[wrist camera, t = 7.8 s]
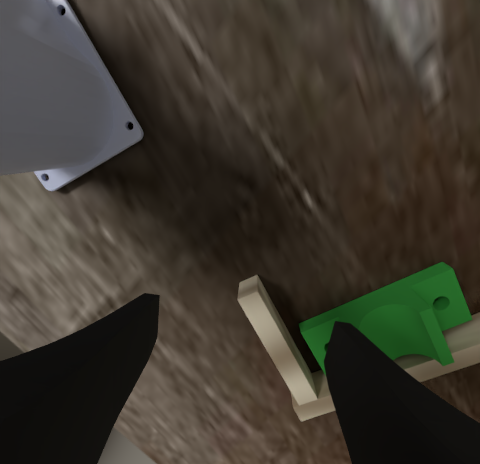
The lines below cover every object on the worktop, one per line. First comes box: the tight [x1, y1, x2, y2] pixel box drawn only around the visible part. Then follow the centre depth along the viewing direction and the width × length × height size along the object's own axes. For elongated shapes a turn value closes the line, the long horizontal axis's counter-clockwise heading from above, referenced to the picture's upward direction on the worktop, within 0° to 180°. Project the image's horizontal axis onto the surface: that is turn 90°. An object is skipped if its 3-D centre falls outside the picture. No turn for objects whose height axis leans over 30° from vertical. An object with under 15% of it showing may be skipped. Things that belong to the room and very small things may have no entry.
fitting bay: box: [237, 275, 480, 421], centre depth 20 cm, size 12×20×2 cm, turn 118°
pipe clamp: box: [299, 262, 473, 375], centre depth 20 cm, size 11×4×5 cm
